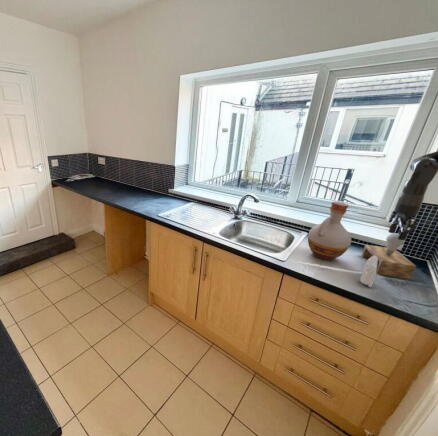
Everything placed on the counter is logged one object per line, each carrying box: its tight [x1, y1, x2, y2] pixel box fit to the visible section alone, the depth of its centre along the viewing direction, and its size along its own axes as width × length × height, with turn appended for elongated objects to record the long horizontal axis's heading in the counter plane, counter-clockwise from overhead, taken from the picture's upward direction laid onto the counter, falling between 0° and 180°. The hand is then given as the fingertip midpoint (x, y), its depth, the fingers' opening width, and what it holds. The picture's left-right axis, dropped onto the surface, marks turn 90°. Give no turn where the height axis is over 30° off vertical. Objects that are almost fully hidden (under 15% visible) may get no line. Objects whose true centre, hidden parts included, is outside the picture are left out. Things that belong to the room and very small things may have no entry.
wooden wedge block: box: [361, 244, 417, 280], centre depth 119 cm, size 12×18×7 cm, turn 159°
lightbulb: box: [385, 232, 406, 255], centre depth 115 cm, size 6×6×11 cm
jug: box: [307, 201, 352, 261], centre depth 122 cm, size 20×18×30 cm
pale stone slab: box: [359, 256, 379, 288], centre depth 107 cm, size 12×4×11 cm, turn 139°
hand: (396, 236), depth 114 cm, fingers open, 8 cm apart
